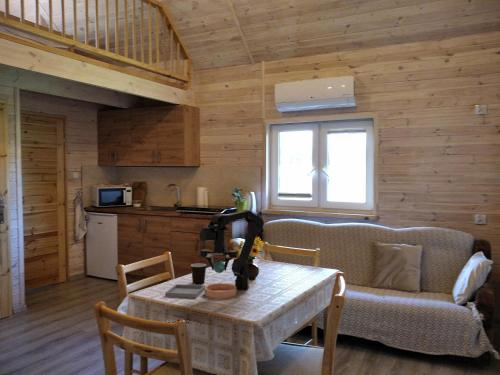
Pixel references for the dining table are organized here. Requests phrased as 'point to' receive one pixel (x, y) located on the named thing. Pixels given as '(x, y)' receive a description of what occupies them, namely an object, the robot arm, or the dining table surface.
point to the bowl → (220, 290)
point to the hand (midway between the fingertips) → (219, 270)
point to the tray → (185, 291)
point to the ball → (219, 266)
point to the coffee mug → (198, 273)
